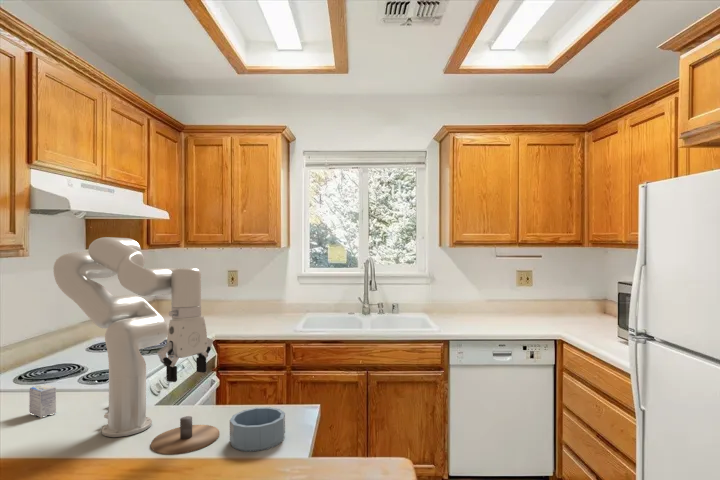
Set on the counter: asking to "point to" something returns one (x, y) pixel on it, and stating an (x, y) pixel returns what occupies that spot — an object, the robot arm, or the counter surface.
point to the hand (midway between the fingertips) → (187, 376)
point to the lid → (185, 438)
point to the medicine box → (42, 400)
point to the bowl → (257, 429)
